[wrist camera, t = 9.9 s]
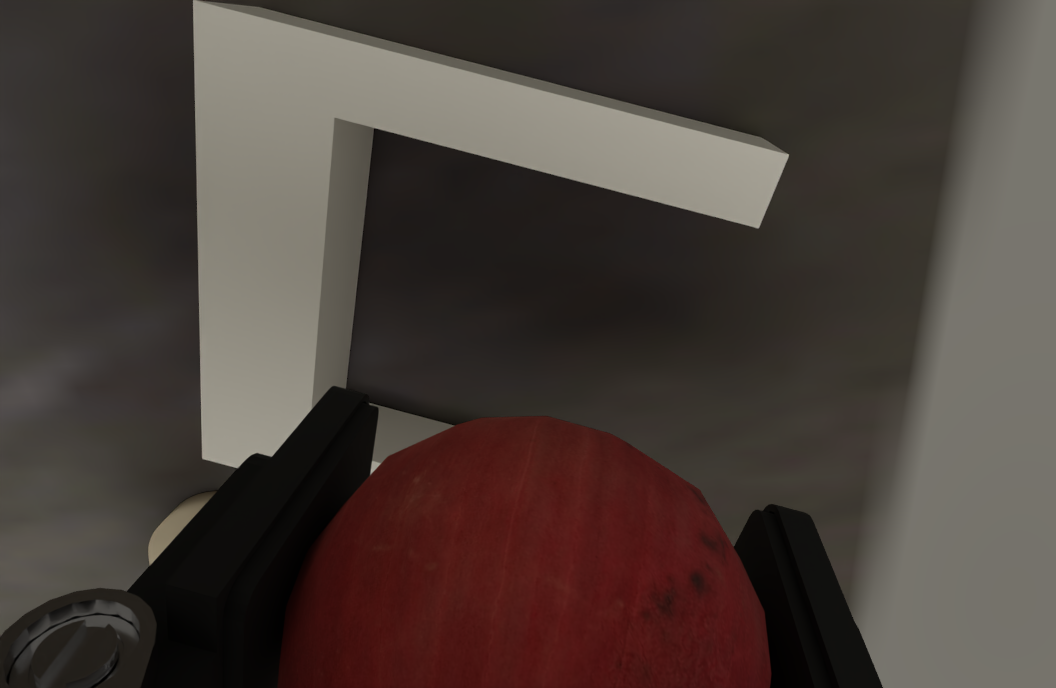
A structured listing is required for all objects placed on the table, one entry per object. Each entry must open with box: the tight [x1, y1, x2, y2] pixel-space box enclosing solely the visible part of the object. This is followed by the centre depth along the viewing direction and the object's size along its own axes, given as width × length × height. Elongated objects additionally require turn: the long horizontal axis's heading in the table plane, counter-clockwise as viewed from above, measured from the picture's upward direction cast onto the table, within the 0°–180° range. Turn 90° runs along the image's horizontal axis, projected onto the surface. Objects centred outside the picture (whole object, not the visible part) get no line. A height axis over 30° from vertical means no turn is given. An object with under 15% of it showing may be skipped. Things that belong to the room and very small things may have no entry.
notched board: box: [193, 0, 789, 475], centre depth 16 cm, size 12×12×2 cm
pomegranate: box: [277, 416, 771, 688], centre depth 8 cm, size 6×6×8 cm
